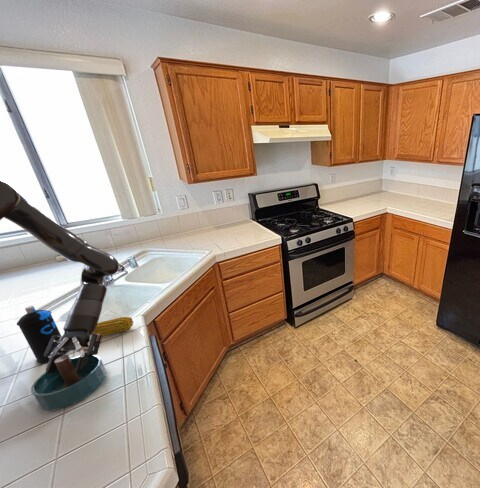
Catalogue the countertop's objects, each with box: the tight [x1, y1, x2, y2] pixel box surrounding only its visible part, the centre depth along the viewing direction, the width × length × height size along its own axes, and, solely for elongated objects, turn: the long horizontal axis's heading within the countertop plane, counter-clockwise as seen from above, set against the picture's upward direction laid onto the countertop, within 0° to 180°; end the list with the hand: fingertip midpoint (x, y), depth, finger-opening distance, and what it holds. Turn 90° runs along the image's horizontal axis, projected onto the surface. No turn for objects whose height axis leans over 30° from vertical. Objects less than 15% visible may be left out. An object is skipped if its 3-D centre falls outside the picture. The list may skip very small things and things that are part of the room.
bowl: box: [30, 354, 108, 411], centre depth 78 cm, size 15×15×6 cm
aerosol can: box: [16, 305, 66, 364], centre depth 90 cm, size 8×8×20 cm
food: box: [92, 316, 134, 337], centre depth 102 cm, size 21×6×6 cm, turn 109°
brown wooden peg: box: [55, 354, 85, 389], centre depth 77 cm, size 5×5×11 cm
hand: (64, 372), depth 76 cm, fingers open, 8 cm apart
